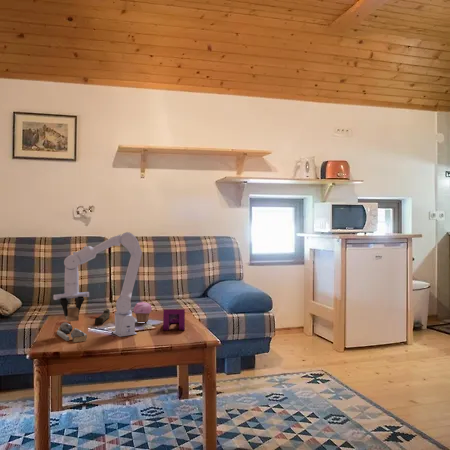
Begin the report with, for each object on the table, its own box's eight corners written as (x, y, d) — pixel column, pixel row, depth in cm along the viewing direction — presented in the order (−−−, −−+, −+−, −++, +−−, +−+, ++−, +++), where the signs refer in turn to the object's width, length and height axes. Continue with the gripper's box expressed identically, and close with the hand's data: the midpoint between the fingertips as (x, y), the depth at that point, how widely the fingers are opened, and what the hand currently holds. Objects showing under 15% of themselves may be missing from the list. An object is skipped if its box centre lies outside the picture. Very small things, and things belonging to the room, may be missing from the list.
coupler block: (74, 317, 199) (74, 305, 199) (78, 320, 192) (78, 308, 192) (64, 318, 196) (64, 306, 196) (68, 321, 190) (68, 309, 190)
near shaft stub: (86, 340, 186) (86, 331, 186) (73, 342, 183) (73, 332, 183) (81, 337, 191) (81, 328, 191) (69, 339, 188) (69, 329, 188)
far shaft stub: (73, 332, 200) (73, 323, 200) (62, 334, 197) (62, 325, 197) (69, 330, 205) (69, 321, 205) (58, 331, 202) (58, 322, 202)
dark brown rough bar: (102, 325, 215) (103, 315, 215) (94, 325, 215) (94, 315, 215) (114, 317, 234) (114, 308, 234) (106, 317, 234) (106, 308, 234)
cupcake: (133, 321, 224) (133, 300, 224) (151, 320, 226) (151, 300, 226) (133, 325, 215) (133, 303, 215) (152, 324, 217) (152, 303, 217)
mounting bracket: (164, 337, 217) (163, 328, 200) (165, 319, 220) (163, 309, 204) (184, 336, 217) (184, 328, 201) (184, 319, 221) (184, 309, 205)
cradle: (86, 338, 191) (86, 334, 191) (66, 341, 186) (66, 337, 186) (76, 331, 202) (76, 328, 202) (57, 334, 197) (57, 330, 197)
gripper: (56, 285, 186) (56, 318, 186) (91, 283, 195) (91, 314, 195) (52, 283, 192) (52, 315, 192) (86, 281, 201) (86, 312, 201)
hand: (71, 315), depth 194 cm, fingers closed on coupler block, 4 cm apart
